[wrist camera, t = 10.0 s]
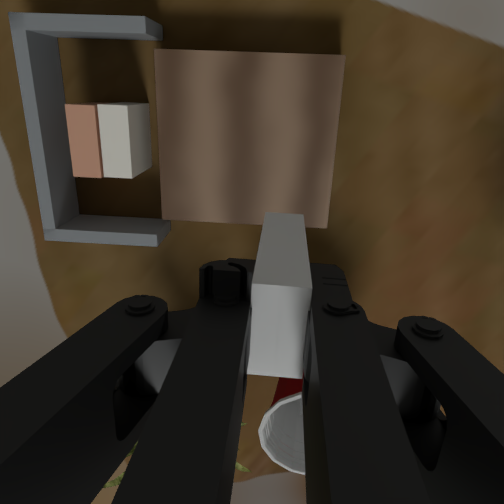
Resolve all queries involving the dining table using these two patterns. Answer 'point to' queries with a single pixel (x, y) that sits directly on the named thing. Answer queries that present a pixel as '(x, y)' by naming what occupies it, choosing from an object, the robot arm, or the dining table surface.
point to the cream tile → (125, 138)
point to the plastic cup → (285, 426)
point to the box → (55, 124)
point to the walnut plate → (246, 134)
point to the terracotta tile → (85, 139)
